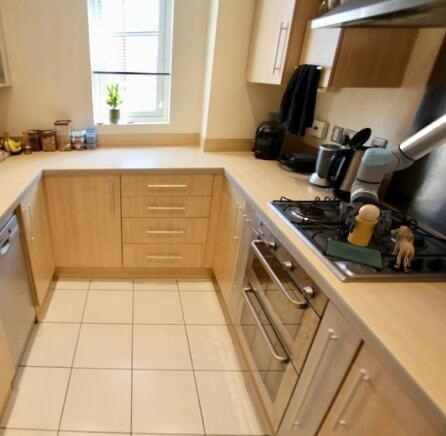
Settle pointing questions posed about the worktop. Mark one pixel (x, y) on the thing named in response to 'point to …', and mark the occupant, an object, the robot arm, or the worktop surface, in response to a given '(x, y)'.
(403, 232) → the lion figurine
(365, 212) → the peg doll
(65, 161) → the worktop surface
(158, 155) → the worktop surface
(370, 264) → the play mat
